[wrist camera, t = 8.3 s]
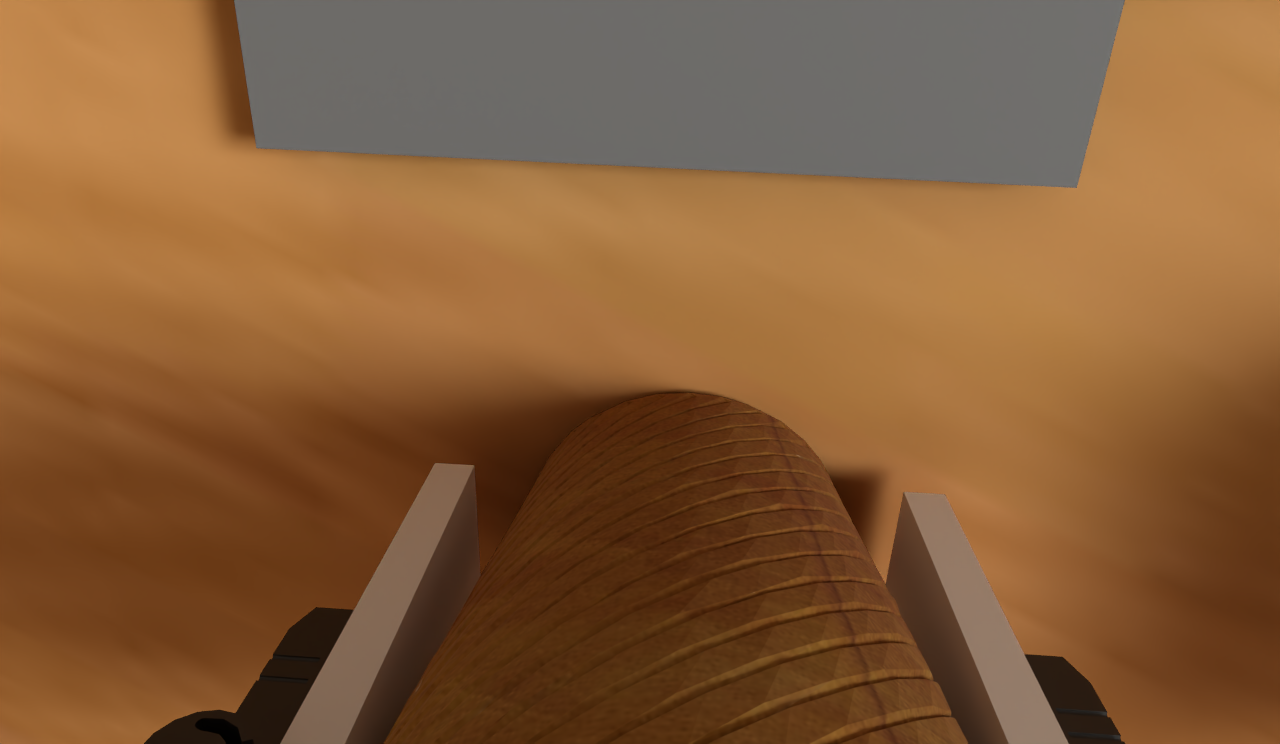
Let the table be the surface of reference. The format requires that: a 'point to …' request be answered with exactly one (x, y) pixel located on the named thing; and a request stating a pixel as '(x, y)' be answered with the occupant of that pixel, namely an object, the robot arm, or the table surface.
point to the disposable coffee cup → (679, 601)
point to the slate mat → (690, 83)
